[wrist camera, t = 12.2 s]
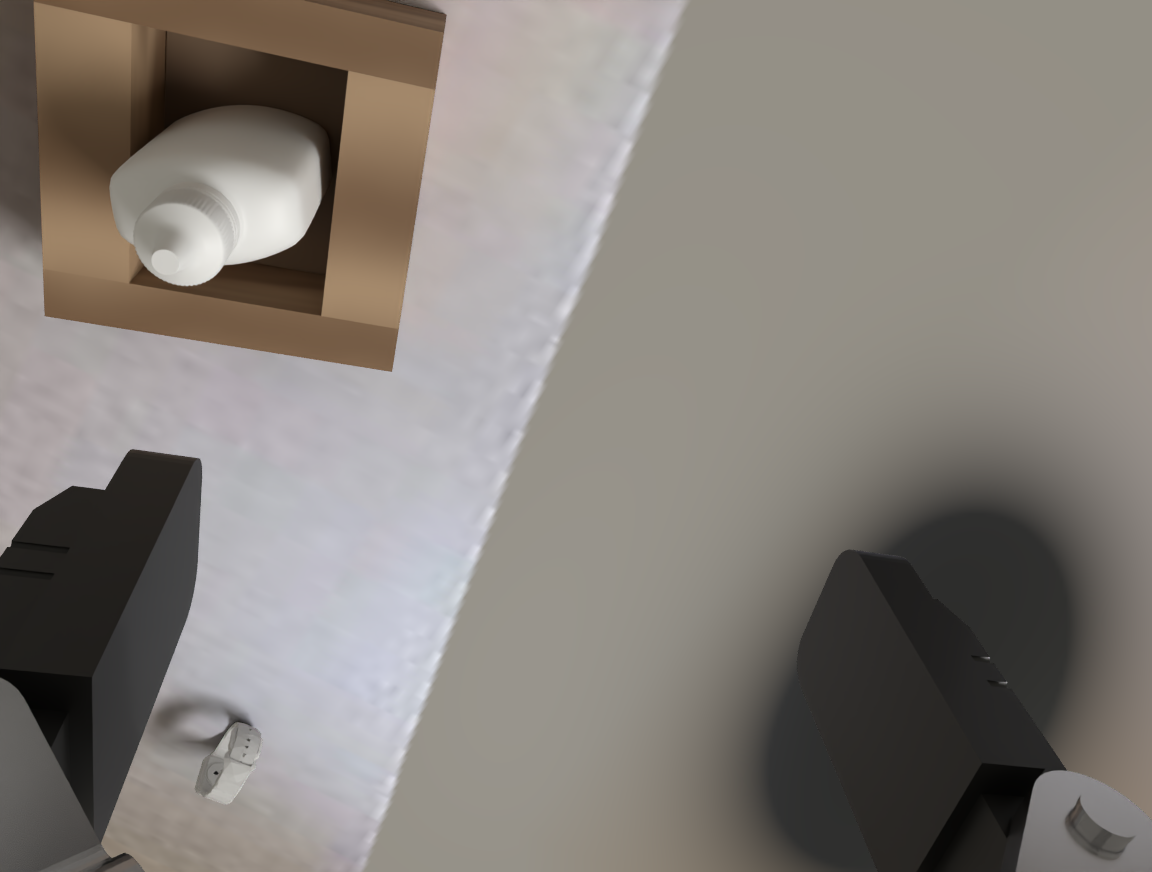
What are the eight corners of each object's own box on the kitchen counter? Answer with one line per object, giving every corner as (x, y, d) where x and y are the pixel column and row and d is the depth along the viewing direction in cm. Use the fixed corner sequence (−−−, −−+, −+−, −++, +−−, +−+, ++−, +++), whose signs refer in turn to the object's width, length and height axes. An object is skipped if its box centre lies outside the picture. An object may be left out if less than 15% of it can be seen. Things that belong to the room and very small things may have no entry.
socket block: (90, -70, 32) (31, -63, 28) (446, 14, 34) (443, 32, 30) (93, 267, 38) (44, 316, 33) (399, 319, 40) (392, 371, 36)
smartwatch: (238, 703, 50) (220, 765, 46) (276, 719, 50) (261, 780, 47) (206, 745, 51) (186, 808, 47) (243, 760, 52) (227, 823, 48)
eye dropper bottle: (301, 239, 37) (237, 376, 26) (156, 164, 35) (25, 280, 25) (351, 139, 35) (303, 244, 25) (202, 55, 33) (82, 130, 23)
